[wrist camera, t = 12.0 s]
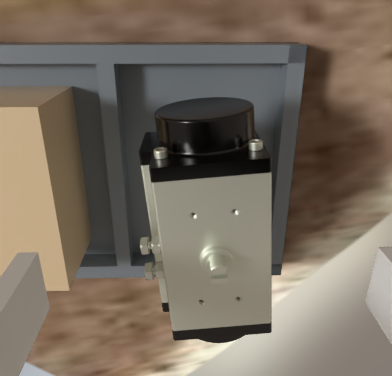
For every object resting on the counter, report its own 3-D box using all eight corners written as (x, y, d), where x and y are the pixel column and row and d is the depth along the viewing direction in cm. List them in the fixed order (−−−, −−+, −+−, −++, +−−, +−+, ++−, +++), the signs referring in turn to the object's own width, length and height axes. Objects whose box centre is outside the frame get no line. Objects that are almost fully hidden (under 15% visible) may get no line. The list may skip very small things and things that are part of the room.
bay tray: (-82, 42, 23) (-177, 51, 17) (296, 42, 23) (335, 51, 17) (-19, 262, 29) (-72, 325, 23) (274, 257, 30) (296, 318, 24)
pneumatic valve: (235, 76, 24) (279, 128, 13) (241, 236, 28) (276, 374, 17) (147, 84, 24) (114, 142, 13) (168, 242, 28) (157, 384, 17)
